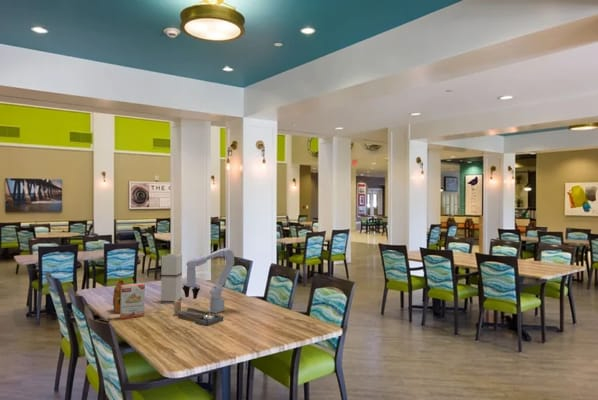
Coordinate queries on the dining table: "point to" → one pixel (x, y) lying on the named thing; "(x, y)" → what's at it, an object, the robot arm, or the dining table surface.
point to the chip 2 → (210, 318)
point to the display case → (171, 278)
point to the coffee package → (117, 295)
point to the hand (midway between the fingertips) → (191, 297)
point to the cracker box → (132, 300)
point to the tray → (206, 323)
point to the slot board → (192, 314)
